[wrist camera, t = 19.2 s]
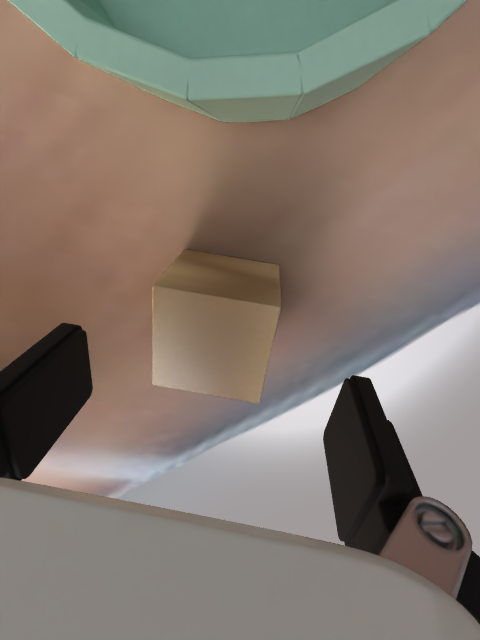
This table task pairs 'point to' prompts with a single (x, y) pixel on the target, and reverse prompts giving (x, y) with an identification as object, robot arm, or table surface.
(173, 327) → the block
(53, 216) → the table surface
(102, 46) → the green round container
